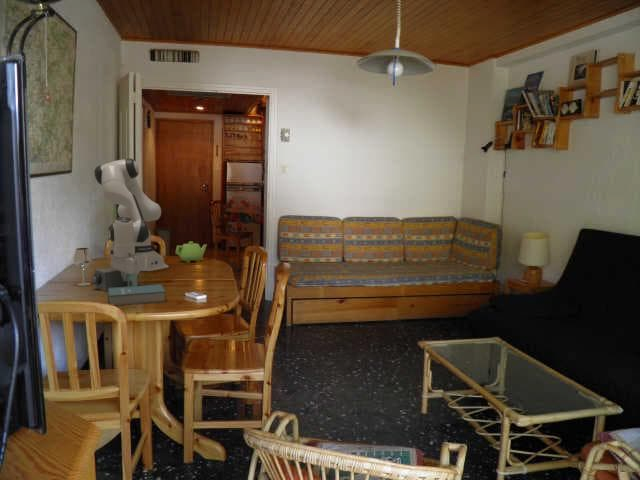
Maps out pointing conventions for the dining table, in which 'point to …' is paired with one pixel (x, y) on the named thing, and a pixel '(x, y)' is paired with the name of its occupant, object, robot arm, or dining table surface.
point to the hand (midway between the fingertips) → (125, 281)
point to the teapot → (191, 252)
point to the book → (136, 294)
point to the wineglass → (82, 261)
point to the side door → (132, 280)
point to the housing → (108, 279)
